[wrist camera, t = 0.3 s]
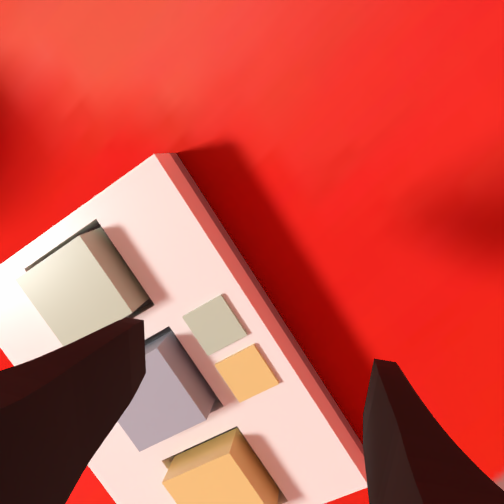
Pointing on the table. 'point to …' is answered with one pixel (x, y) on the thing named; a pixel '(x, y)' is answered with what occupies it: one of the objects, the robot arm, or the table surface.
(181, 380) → the key slate
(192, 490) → the key ochre
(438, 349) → the table surface
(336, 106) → the table surface
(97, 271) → the key sage
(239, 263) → the keyguard panel
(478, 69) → the table surface
